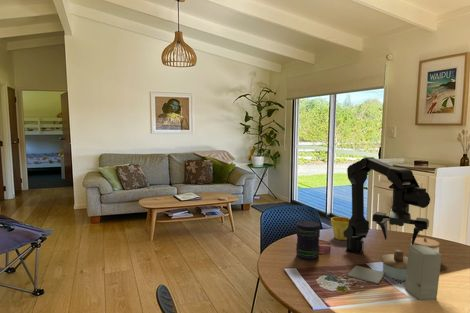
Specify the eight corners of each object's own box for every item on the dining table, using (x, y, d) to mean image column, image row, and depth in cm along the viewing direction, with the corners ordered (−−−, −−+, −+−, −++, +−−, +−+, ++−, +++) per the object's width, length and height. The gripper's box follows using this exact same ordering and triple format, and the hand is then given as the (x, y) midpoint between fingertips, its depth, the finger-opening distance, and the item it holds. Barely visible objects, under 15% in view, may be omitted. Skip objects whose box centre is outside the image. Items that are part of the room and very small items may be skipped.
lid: (377, 263, 125) (378, 252, 125) (385, 254, 135) (385, 243, 135) (413, 272, 118) (413, 259, 118) (418, 261, 128) (419, 250, 128)
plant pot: (331, 240, 165) (332, 221, 164) (329, 234, 175) (329, 216, 174) (353, 241, 163) (354, 222, 163) (349, 235, 174) (350, 217, 173)
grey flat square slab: (347, 276, 125) (347, 275, 125) (356, 266, 134) (356, 265, 134) (378, 284, 119) (378, 283, 119) (385, 273, 127) (385, 272, 127)
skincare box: (403, 288, 115) (405, 244, 114) (423, 287, 116) (425, 243, 115) (419, 301, 107) (421, 253, 106) (440, 300, 108) (442, 252, 106)
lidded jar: (443, 265, 136) (444, 242, 135) (414, 262, 138) (415, 240, 137) (433, 255, 146) (434, 234, 145) (406, 253, 148) (407, 233, 147)
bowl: (380, 275, 126) (381, 263, 126) (387, 266, 134) (387, 255, 134) (410, 282, 120) (410, 270, 120) (414, 272, 128) (415, 261, 128)
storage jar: (323, 256, 144) (324, 223, 143) (312, 263, 137) (312, 228, 136) (303, 251, 151) (304, 219, 150) (291, 257, 144) (292, 223, 142)
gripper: (369, 202, 124) (367, 242, 126) (426, 209, 113) (423, 254, 115) (376, 197, 133) (375, 235, 135) (430, 203, 122) (428, 245, 123)
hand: (399, 242), depth 127 cm, fingers open, 9 cm apart
